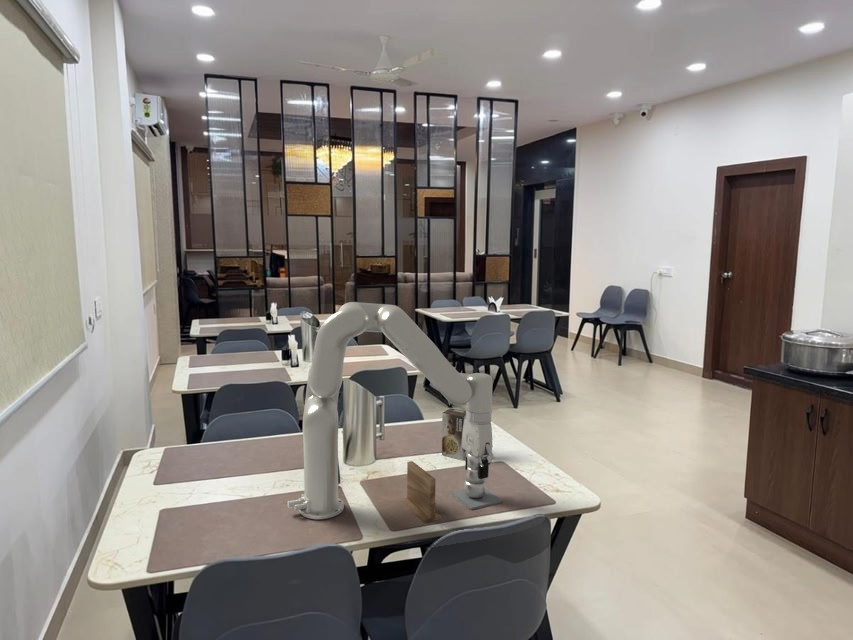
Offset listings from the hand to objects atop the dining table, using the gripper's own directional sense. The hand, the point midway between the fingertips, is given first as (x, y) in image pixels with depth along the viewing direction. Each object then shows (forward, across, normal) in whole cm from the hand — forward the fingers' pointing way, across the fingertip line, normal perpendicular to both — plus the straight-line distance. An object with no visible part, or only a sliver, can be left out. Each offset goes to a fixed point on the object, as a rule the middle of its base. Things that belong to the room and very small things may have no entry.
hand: (476, 473), depth 167 cm
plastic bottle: (+7, 0, 0) cm, 7 cm away
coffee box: (+8, -32, +13) cm, 35 cm away
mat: (+8, 0, 0) cm, 8 cm away
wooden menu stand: (+8, -1, -18) cm, 20 cm away
